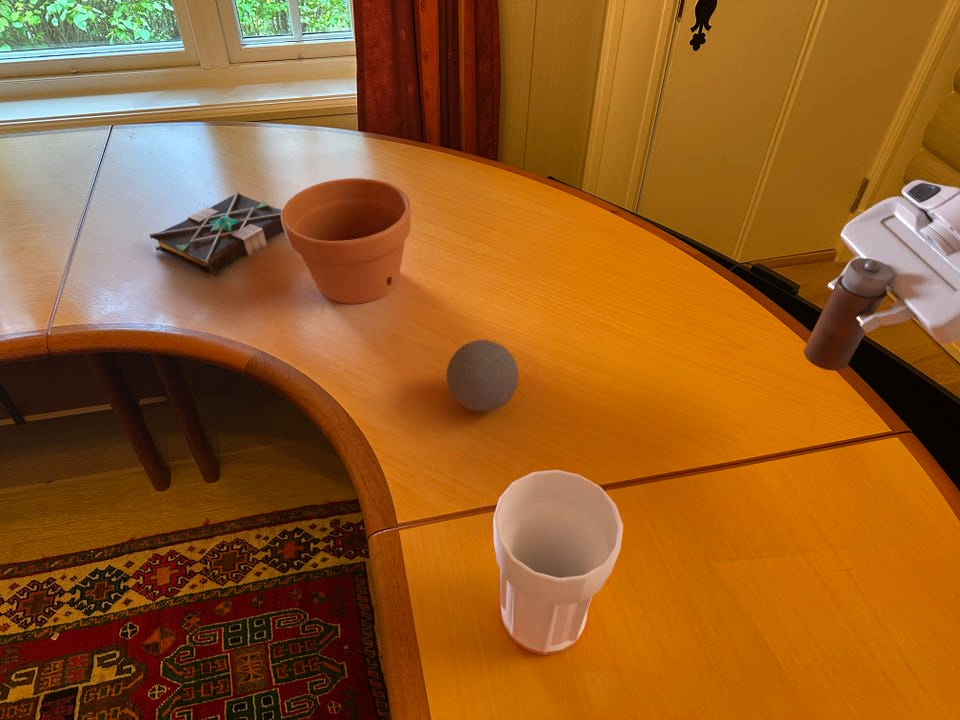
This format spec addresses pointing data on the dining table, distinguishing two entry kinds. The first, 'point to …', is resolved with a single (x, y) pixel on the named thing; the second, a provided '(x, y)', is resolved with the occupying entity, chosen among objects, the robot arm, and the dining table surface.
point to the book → (221, 233)
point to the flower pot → (350, 236)
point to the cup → (553, 556)
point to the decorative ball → (482, 376)
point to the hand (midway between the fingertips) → (845, 308)
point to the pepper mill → (847, 313)
